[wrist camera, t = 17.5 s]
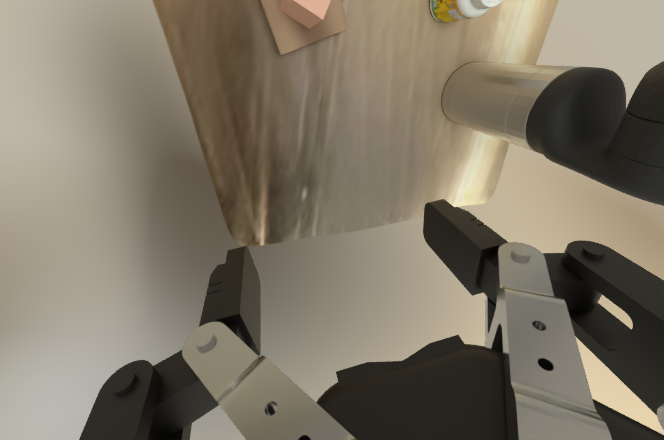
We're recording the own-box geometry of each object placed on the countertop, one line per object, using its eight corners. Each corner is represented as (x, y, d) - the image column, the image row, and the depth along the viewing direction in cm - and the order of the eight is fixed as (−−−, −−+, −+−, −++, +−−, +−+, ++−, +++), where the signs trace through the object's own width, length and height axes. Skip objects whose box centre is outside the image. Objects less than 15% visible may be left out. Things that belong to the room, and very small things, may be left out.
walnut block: (318, -58, 32) (325, -70, 29) (340, 30, 37) (348, 28, 34) (247, -30, 32) (246, -39, 29) (279, 55, 37) (281, 55, 34)
